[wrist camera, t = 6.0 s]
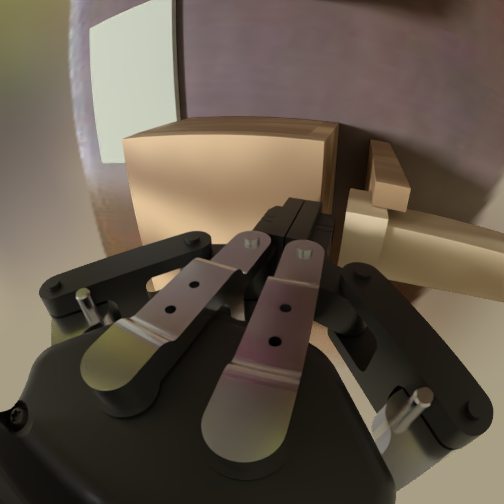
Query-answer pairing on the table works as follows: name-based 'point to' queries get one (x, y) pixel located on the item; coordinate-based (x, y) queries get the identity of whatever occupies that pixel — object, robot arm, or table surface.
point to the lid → (217, 181)
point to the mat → (134, 74)
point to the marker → (423, 248)
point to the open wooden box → (379, 161)
